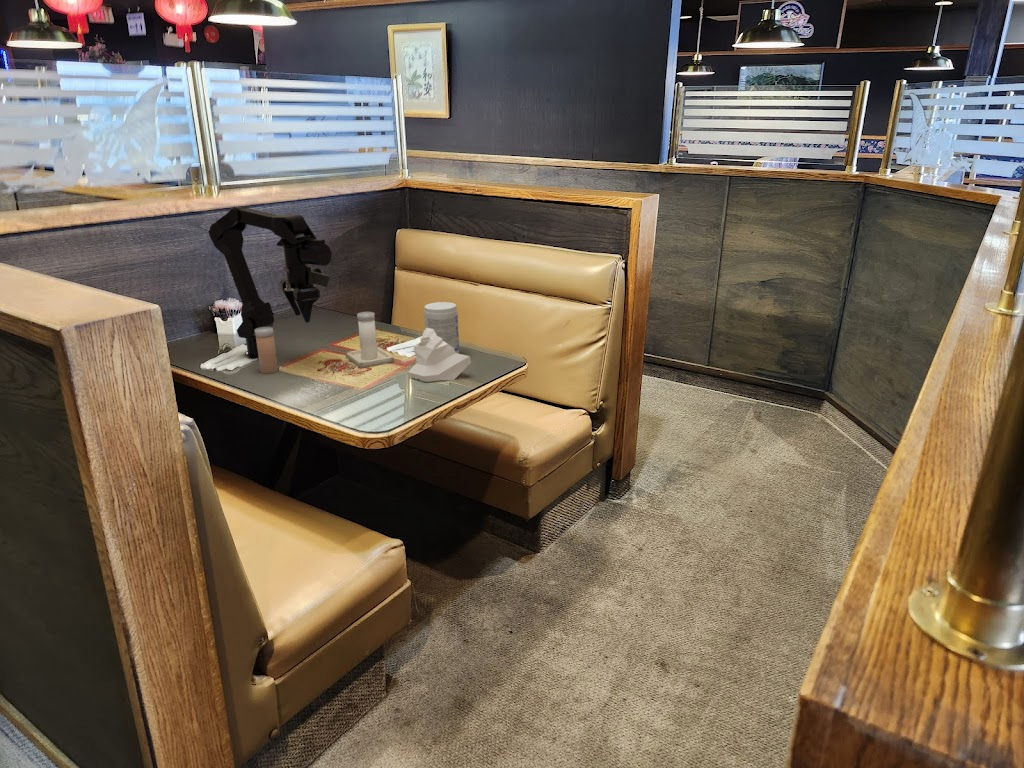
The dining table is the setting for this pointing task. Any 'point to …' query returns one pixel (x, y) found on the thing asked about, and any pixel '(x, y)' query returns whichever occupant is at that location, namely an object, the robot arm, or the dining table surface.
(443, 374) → the white faceted sculpture
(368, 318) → the salt shaker
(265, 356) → the pepper shaker
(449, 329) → the supplement tub
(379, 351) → the tray
